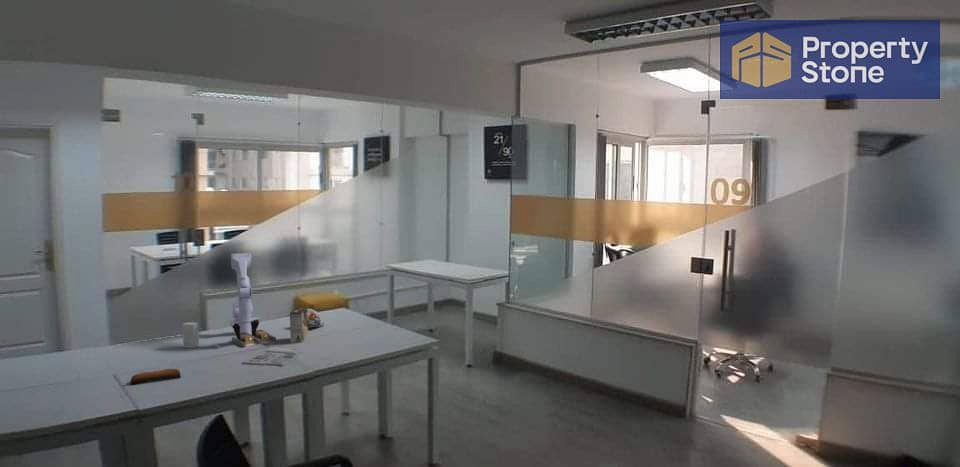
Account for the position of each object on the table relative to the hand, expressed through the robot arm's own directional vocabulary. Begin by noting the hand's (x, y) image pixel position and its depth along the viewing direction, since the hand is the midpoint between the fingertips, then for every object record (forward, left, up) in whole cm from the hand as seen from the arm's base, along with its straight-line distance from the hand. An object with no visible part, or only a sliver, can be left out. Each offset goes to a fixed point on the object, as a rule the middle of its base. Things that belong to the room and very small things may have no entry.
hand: (245, 337), depth 288 cm
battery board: (0, +4, -3) cm, 5 cm away
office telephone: (+32, +1, -4) cm, 32 cm away
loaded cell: (0, +8, -3) cm, 8 cm away
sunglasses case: (+25, -48, -4) cm, 54 cm away
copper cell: (0, 0, -3) cm, 3 cm away
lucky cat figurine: (-7, +40, -4) cm, 41 cm away
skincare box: (-13, -22, -4) cm, 26 cm away
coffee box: (+14, +22, -4) cm, 26 cm away
